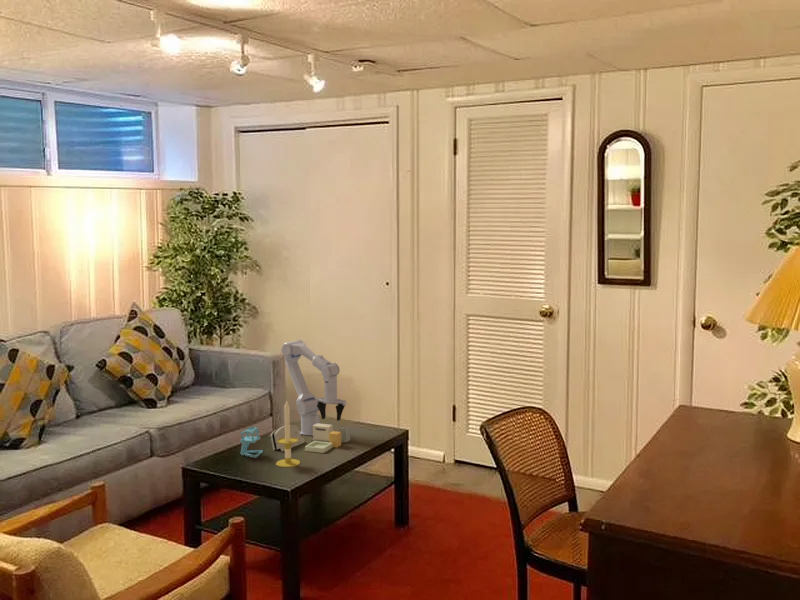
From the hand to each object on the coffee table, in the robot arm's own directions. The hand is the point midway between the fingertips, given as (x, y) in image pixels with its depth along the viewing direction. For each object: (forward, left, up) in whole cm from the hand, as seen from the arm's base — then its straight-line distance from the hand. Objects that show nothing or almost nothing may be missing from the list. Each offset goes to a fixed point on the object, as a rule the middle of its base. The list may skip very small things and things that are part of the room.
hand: (331, 419), depth 360 cm
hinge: (+17, -14, -9) cm, 24 cm away
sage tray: (+17, +2, -9) cm, 19 cm away
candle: (+39, -1, -9) cm, 40 cm away
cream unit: (+5, -2, -9) cm, 10 cm away
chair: (+34, -22, -9) cm, 41 cm away
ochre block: (+10, +6, -9) cm, 15 cm away
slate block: (+2, +7, -9) cm, 12 cm away
